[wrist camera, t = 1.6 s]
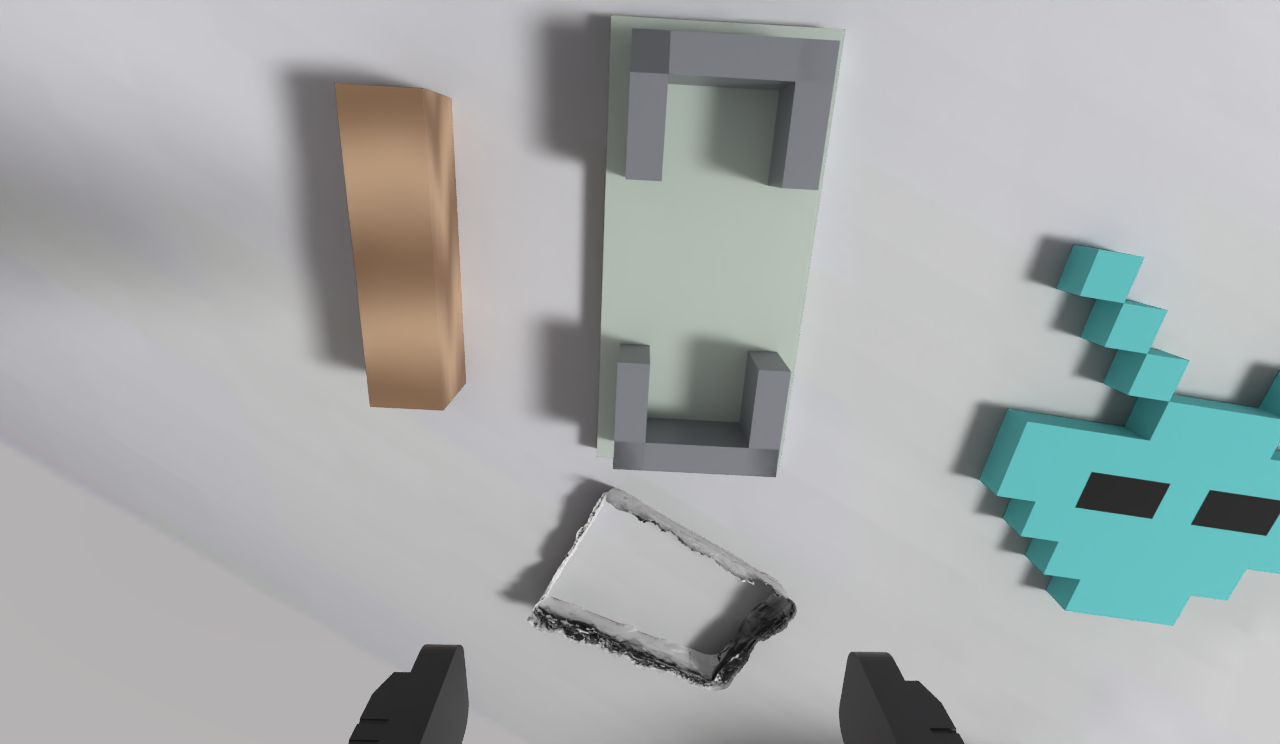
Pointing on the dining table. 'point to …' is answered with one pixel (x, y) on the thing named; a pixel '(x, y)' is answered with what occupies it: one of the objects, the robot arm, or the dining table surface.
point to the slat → (404, 241)
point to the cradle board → (702, 240)
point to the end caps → (794, 164)
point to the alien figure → (1140, 473)
